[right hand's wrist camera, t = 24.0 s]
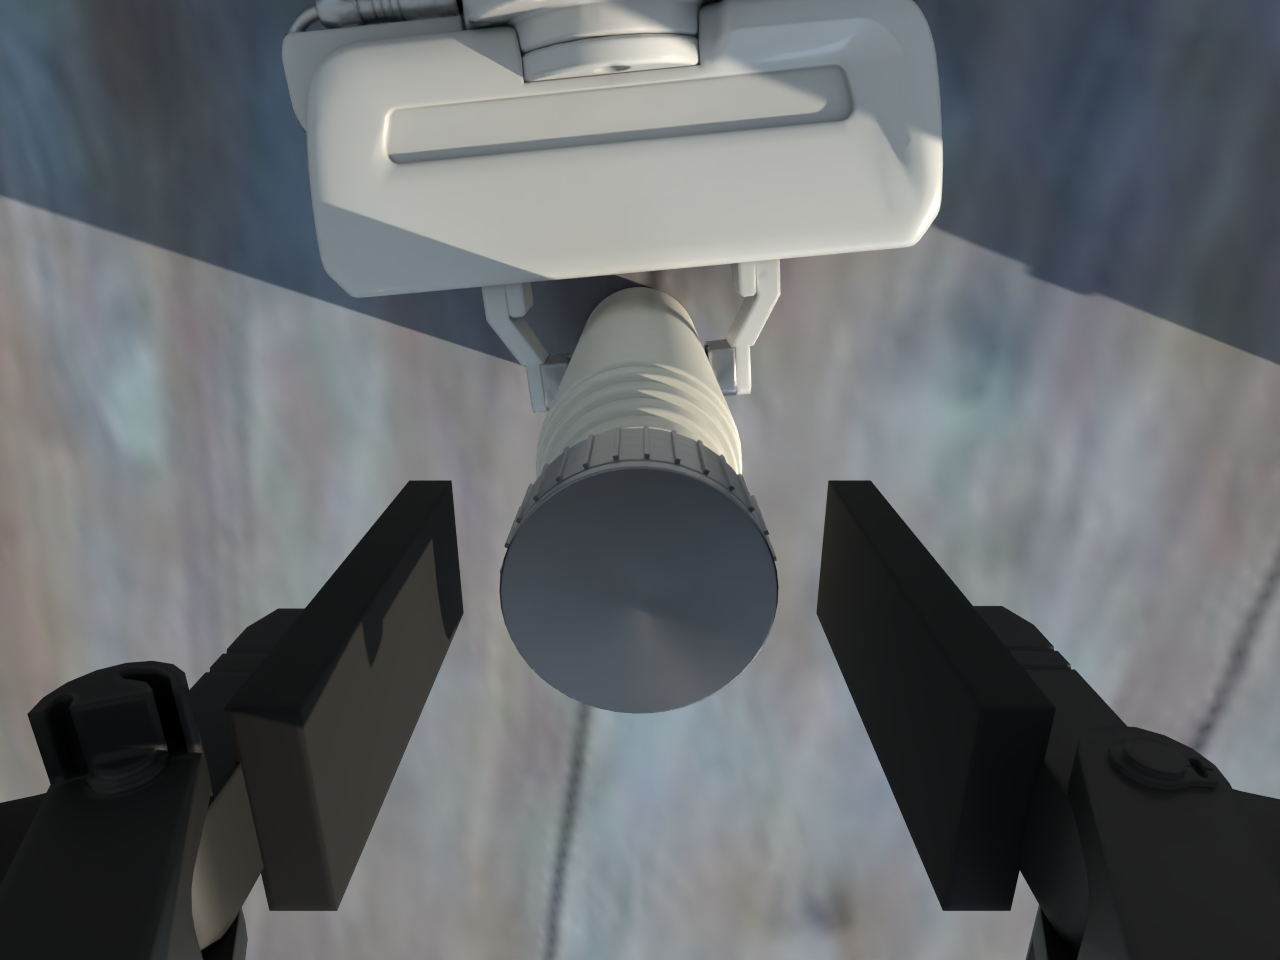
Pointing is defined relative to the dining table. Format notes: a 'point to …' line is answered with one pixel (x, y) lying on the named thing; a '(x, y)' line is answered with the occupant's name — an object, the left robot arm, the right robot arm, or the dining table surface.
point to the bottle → (639, 379)
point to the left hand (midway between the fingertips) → (642, 399)
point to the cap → (639, 572)
